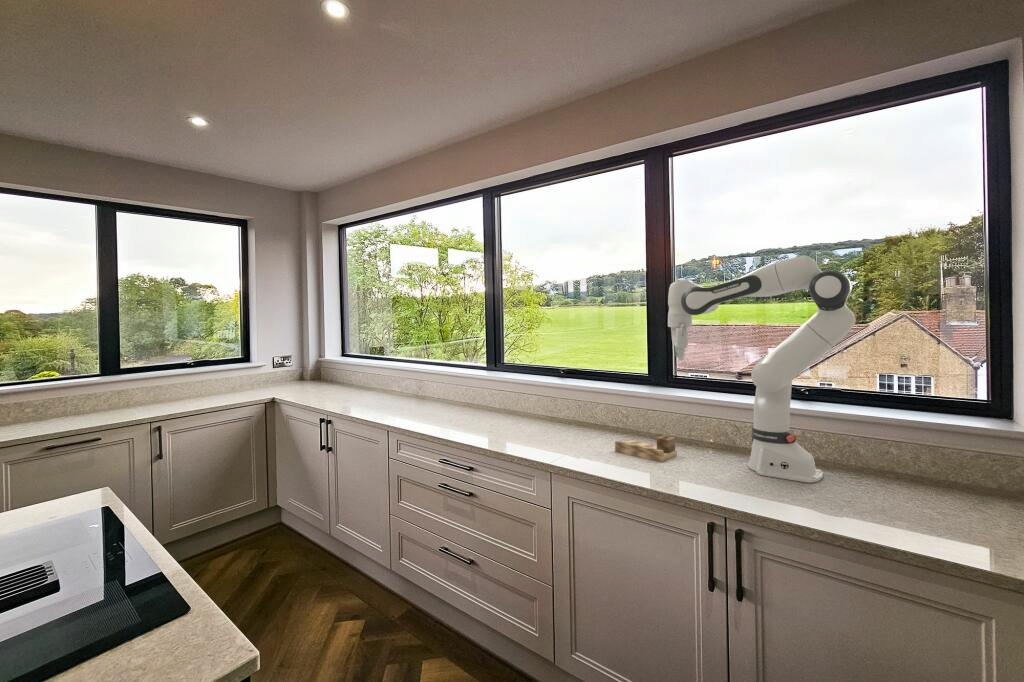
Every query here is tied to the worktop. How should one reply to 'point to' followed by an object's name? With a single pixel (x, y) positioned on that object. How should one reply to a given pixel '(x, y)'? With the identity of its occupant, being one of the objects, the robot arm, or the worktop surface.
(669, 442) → the brown wooden block
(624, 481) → the worktop surface
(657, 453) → the board
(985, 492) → the worktop surface
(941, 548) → the worktop surface
